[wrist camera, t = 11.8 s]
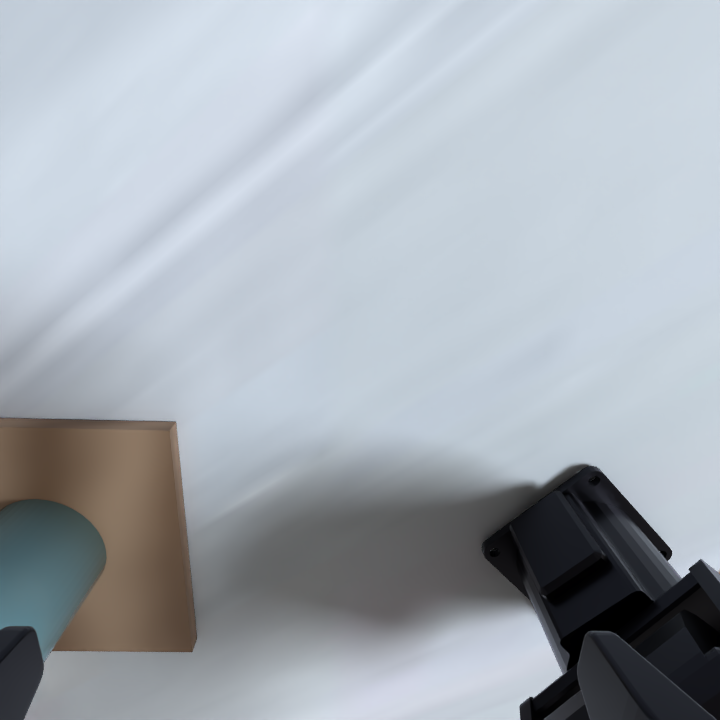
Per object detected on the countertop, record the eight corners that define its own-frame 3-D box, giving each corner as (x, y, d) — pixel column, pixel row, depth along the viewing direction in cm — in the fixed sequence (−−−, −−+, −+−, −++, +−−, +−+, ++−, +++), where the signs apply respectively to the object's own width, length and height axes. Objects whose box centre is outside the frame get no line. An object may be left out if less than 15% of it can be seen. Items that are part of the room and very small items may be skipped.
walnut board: (176, 421, 21) (169, 430, 20) (197, 637, 25) (192, 652, 24) (-116, 415, 21) (-134, 424, 20) (-48, 635, 25) (-61, 649, 24)
